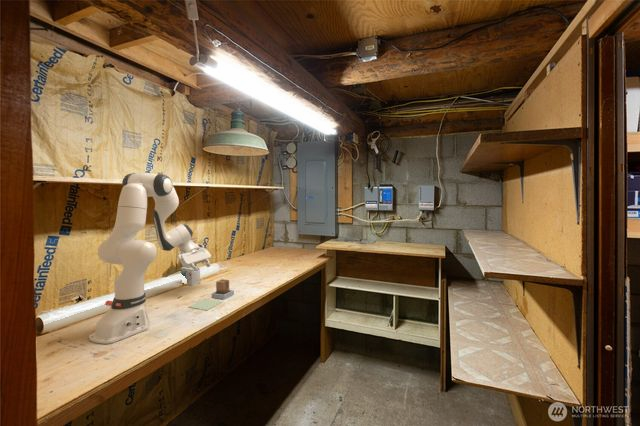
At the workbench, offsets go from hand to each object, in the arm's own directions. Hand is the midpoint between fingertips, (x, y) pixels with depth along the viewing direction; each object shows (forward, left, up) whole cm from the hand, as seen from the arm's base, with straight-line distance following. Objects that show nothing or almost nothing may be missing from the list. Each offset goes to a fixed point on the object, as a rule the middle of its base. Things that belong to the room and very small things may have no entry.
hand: (203, 268), depth 176 cm
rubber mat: (-14, -13, -15) cm, 25 cm away
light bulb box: (+12, +22, -15) cm, 29 cm away
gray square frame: (0, -13, -15) cm, 20 cm away
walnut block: (0, -13, -15) cm, 20 cm away
